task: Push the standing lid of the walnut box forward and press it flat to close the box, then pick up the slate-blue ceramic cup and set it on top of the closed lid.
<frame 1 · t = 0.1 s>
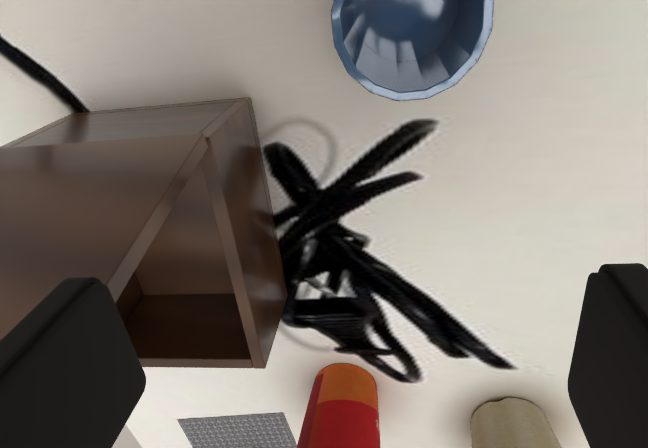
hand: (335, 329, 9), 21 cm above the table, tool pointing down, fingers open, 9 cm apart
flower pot: (507, 418, 40), on the table
box: (189, 210, 34), on the table
cup: (404, 6, 25), on the table
paper cup: (346, 383, 41), on the table
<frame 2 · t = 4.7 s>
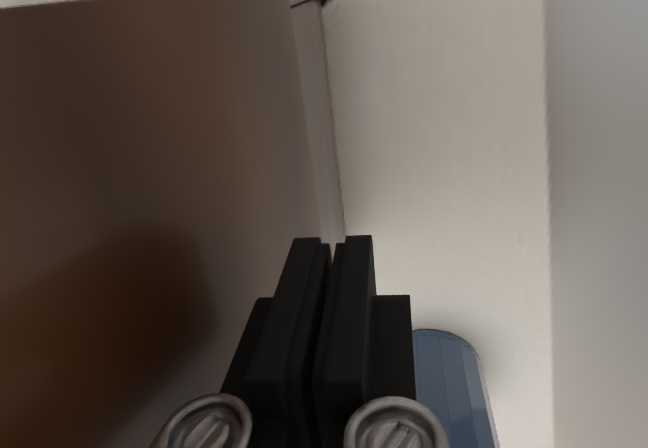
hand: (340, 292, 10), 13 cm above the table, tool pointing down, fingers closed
box lid: (144, 410, 8), point 16 cm above the table, hinge at 79.4°, touching gripper
box: (181, 135, 23), on the table
cup: (427, 368, 29), on the table
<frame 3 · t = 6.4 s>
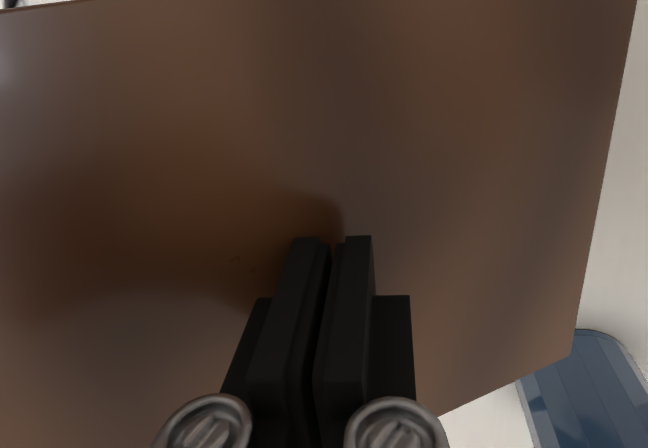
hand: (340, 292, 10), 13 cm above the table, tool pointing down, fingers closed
box lid: (329, 273, 11), point 12 cm above the table, hinge at 29.6°
cup: (570, 369, 27), on the table
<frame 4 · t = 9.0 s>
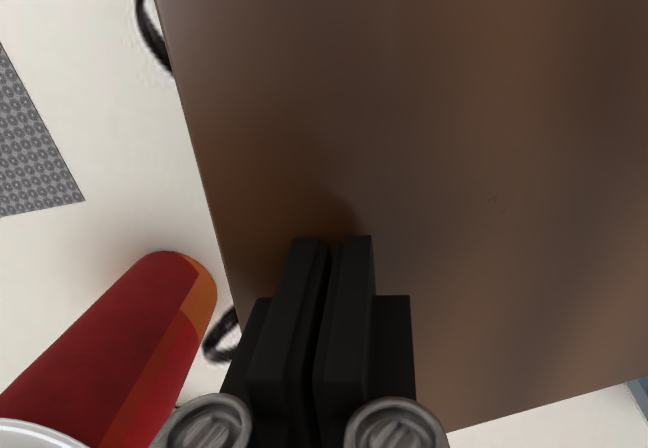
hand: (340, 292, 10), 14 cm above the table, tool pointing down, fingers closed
box lid: (556, 225, 12), point 11 cm above the table, hinge at 20.0°
paper cup: (177, 286, 29), on the table
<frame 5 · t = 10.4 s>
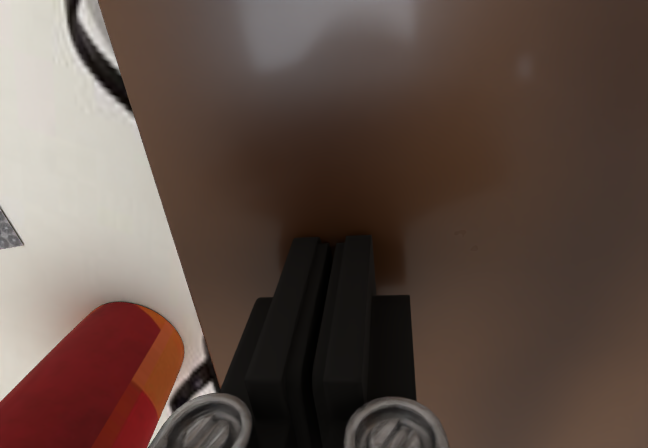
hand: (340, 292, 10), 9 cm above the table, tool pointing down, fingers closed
box lid: (556, 273, 10), point 8 cm above the table, hinge at 1.1°, touching gripper
paper cup: (137, 340, 25), on the table
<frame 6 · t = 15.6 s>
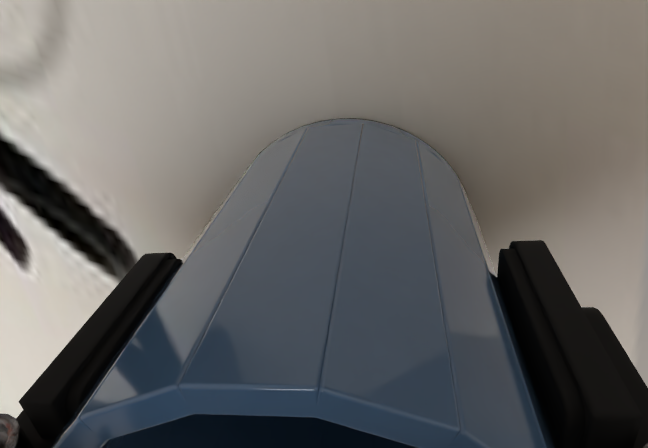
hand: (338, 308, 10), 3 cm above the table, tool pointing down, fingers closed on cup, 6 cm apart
cup: (349, 234, 12), on the table, touching gripper
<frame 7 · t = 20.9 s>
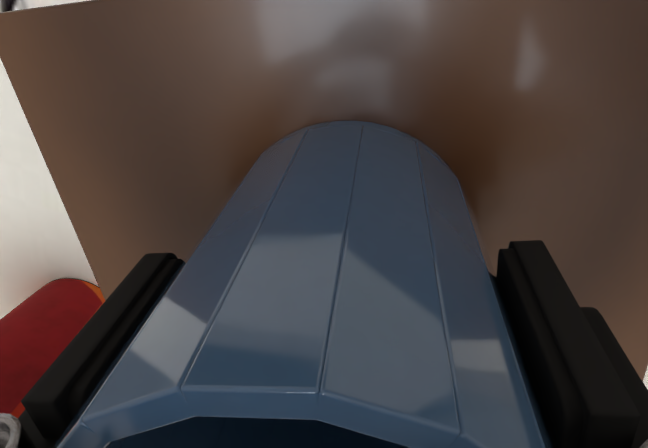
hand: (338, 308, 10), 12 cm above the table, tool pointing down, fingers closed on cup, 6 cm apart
box lid: (353, 227, 13), point 8 cm above the table, hinge at -0.1°, touching cup
cup: (349, 235, 12), point 9 cm above the table, touching box lid, gripper
paper cup: (86, 314, 28), on the table
when the fingers open (12 cm above the table, at t = 21.1 s): cup stays where it is, resting on box lid.
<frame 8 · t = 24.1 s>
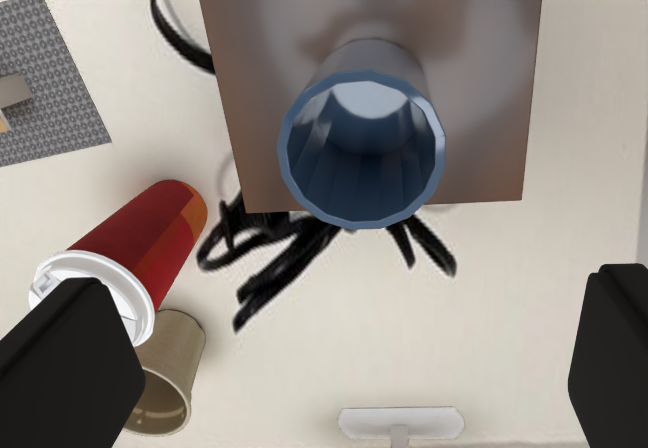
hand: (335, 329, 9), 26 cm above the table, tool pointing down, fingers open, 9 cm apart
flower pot: (177, 331, 47), on the table
box lid: (370, 100, 25), point 8 cm above the table, hinge at -0.1°, touching cup
cup: (368, 103, 24), point 9 cm above the table, touching box lid
heart sculpture: (399, 422, 50), on the table
architectural model: (0, 92, 36), on the table
paper cup: (177, 208, 40), on the table
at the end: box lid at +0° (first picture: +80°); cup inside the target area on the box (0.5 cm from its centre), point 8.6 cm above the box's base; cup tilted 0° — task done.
